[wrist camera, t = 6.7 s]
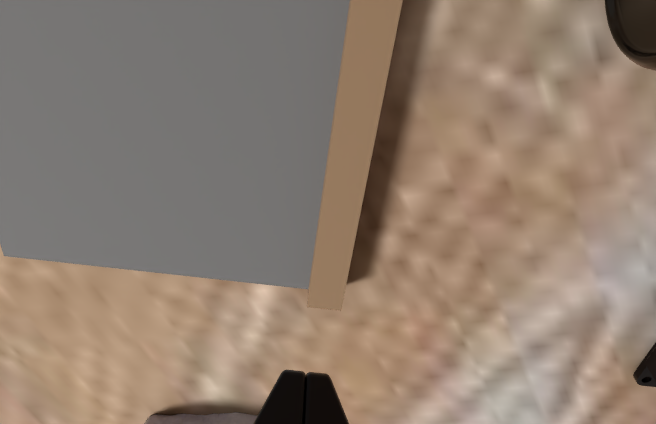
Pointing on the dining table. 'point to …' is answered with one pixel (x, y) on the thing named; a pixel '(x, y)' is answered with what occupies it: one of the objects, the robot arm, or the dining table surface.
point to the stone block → (202, 419)
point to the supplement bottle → (634, 29)
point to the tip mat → (192, 135)
